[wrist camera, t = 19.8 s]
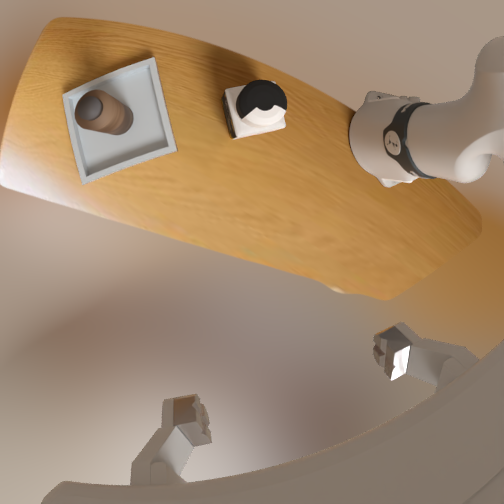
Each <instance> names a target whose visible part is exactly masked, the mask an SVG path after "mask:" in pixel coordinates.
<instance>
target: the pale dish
mask: <svg viewBox="0 0 504 504" xmlns="http://www.w3.org/2000/svg"><path fill="white" fill-rule="evenodd" d="M91 90H102V91H105V92H106V93H108V94H109V95H111V96H112V97H114V98H115V99H117V100H118V101H120V102H121V103H123V104H124V105H126V106H127V107H129V108H130V109H131V110H132V112H133V116H134V120H133V124H132V126H131V128H130V129H129V130H128V131H127V132H126V133H124V134H122V135H111V134H107V133H102V132H97V131H92V130H87V129H83V128H81V127H80V126H79V125H78V124H77V122H76V120H75V115H74V112H75V107H76V104H77V102H78V101H79V99H80V98H81V97H82V96H83V95H84V94H85V93H87V92H89V91H91ZM63 102H64V108H65V113H66V119H67V124H68V129H69V133H70V138H71V142H72V147H73V151H74V155H75V159H76V163H77V167H78V170H79V174H80V178H81V181H82V185H84V184H88V183H90V182H93V181H95V180H97V179H100V178H102V177H105V176H107V175H110V174H113V173H115V172H118V171H120V170H123V169H126V168H129V167H131V166H134V165H137V164H140V163H143V162H145V161H148V160H151V159H154V158H157V157H161V156H164V155H167V154H170V153H173V152H176V151H178V149H177V145H176V141H175V137H174V134H173V130H172V126H171V122H170V118H169V114H168V110H167V105H166V101H165V97H164V93H163V89H162V84H161V80H160V76H159V71H158V67H157V62H156V60H155V57H153V58H150V59H147V60H144V61H141V62H138V63H135V64H132V65H129V66H126V67H124V68H121V69H118V70H116V71H113V72H111V73H108V74H106V75H104V76H101V77H99V78H97V79H94V80H92V81H90V82H88V83H85V84H83V85H81V86H79V87H77V88H75V89H73V90H71V91H69V92H67V93H65V94H63Z"/></svg>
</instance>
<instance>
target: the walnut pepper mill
mask: <svg viewBox="0 0 504 504" xmlns="http://www.w3.org/2000/svg"><path fill="white" fill-rule="evenodd" d="M74 115H75V120H76V122H77V124H78V125H79V126H80V127H81V128H83V129H87V130H92V131H97V132H102V133H107V134H111V135H122V134H124V133H126V132H127V131H128V130H129V129H130V128H131V126H132V124H133V120H134V116H133V112H132V110H131V109H130V108H129V107H127V106H126V105H124V104H123V103H121V102H120V101H118V100H117V99H115V98H114V97H112V96H111V95H109V94H108V93H106V92H105V91H102V90H91V91H89V92H87V93H85V94H84V95H83V96H82V97H81V98H80V99H79V101H78V102H77V104H76V107H75V112H74Z"/></svg>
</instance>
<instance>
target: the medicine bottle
mask: <svg viewBox="0 0 504 504" xmlns="http://www.w3.org/2000/svg"><path fill="white" fill-rule="evenodd" d="M221 101H222V105H223V109H224V113H225V117H226V121H227V125H228V130H229V134H230V138H231V139H238V138H242V137H247V136H251V135H256V134H261V133H266V132H271V131H275V130H278V129H282V128H285V126H286V124H285V120H284V114H285V112H286V109H287V99H286V96H285V93H284V92H283V90H282V89H281V88H280V87H279V86H278V85H277V84H276V83H275V82H274V81H267V80H256V81H253V82H250V83H249V84H247V85H244V86H238V87H233V88H228V89H226V90H225V92H224V94H223V97H222V99H221Z"/></svg>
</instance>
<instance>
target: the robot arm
mask: <svg viewBox="0 0 504 504" xmlns="http://www.w3.org/2000/svg"><path fill="white" fill-rule="evenodd" d="M378 97H379V99H378ZM349 138H350V145H351V149H352V152H353V154H354V156H355V158H356V160H357V162H358V163H359V164H360V165H361V167H362V168H363V169H365V170H366V171H367V172H369V173H371V174H372V175H374V176H376V177H377V178H378V180H379V181H380V182H381V184H382V185H383V186H384V187H392V186H394V185H396V184H398V183H400V182H406V183H411V182H412V181H413V180H415V179H417V178H419V177H420V178H425V179H428V178H430V179H434V178H437V177H438V178H443V179H447V180H452V181H457V182H461V183H469V182H472V181H475V180H477V179H479V178H480V177H481V176H482V175H483V174H484V173H485V172H486V170H487V168H488V166H489V163H490V160H491V156H492V154H494V155H497V156H498V157H500V158H501V159H502V160H503V163H504V36H501V37H497V38H495V39H493V40H491V41H490V42H488V43H487V44H486V45H485V46H484V47H483V48H482V50H481V51H480V53H479V55H478V57H477V60H476V64H475V74H474V80H473V83H472V86H471V88H470V90H469V91H468V93H466V95H465V96H463V97H462V98H461V99H458V100H456V101H452V102H446V103H438V104H430V103H425V102H420V99H419V97H409V98H407V97H406V96H401V97H398V96H394V95H390V94H385V93H380V92H376V91H370V92H368V93H367V95H366V98H365V101H364V104H363V105H362V107H361V108H359V110H358V111H357V112H356V113H355V115H354V117H353V119H352V121H351V125H350V131H349ZM373 341H374V342H375V346H374V348H373V355H374V358H375V360H376V362H377V364H378V365H379V366H382V367H384V372H385V374H386V375H387V376H388V377H389V379H390V380H393V379H395V378H397V377H399V376H401V375H403V374H405V373H406V374H408V375H410V376H413V377H415V378H417V379H420V380H422V381H425V382H427V383H430V384H432V385H435V386H437V387H436V390H435V393H434V394H433V395H431V396H430V397H428V398H427V399H425V400H424V401H422V402H420V403H419V404H417V405H416V406H414V407H412V408H411V409H409V410H407V411H405V412H404V413H402V414H400V415H398V416H396V417H394V418H392V419H391V420H389V421H387V422H385V423H383V424H381V425H379V426H377V427H375V428H373V429H371V430H369V431H367V432H365V433H363V434H360V435H358V436H356V437H354V438H351V439H349V440H347V441H344V442H342V443H340V444H337V445H335V446H332V447H330V448H327V449H325V450H322V451H319V452H316V453H314V454H311V455H308V456H305V457H302V458H299V459H296V460H293V461H290V462H286V463H283V464H279V465H276V466H272V467H268V468H265V469H261V470H257V471H252V472H248V473H243V474H239V475H234V476H228V477H223V478H217V479H212V480H204V481H196V482H188V483H187V482H186V481H185V480H184V479H182V478H181V477H180V474H181V472H182V470H183V468H184V466H185V464H186V462H187V460H188V459H189V456H190V455H191V453H192V451H193V449H194V446H199V445H204V444H209V443H212V440H211V432H210V430H209V428H208V425H209V423H210V422H209V417H208V413H207V411H206V408H205V406H204V405H203V404H201V403H200V398H199V396H198V395H197V394H192V395H187V396H181V397H176V398H170V399H165V400H164V401H163V407H162V428H159V429H158V430H157V431H156V432H155V434H154V435H153V436H152V438H151V439H150V440H149V442H148V443H147V444H146V446H145V447H144V448H143V449H142V451H141V452H140V453H139V455H138V456H137V457H136V458H135V460H134V461H133V462H132V468H131V483H130V485H101V484H88V483H79V482H71V481H63V482H61V483H60V484H58V485H57V486H56V487H55V488H54V489H52V490H51V492H49V493H48V494H47V495H46V496H45V497H44V499H43V501H42V502H41V504H504V339H503V340H502V341H501V342H500V343H499V344H498V345H497V346H496V347H495V348H493V349H492V350H491V351H490V352H489V353H488V354H486V355H485V356H484V357H483V358H482V359H480V360H479V359H478V358H477V357H476V356H475V355H474V354H472V353H471V352H470V351H469V350H468V349H467V348H466V347H463V346H458V345H453V344H449V343H444V342H440V341H435V340H431V339H426V338H424V339H421V338H420V337H419V336H418V335H417V334H416V333H415V332H414V331H412V330H411V329H410V328H409V327H408V326H407V325H406V324H405V323H404V322H400V323H397V324H395V325H393V326H391V327H389V328H387V329H385V330H383V331H381V332H379V333H377V334H375V335H374V339H373Z"/></svg>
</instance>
